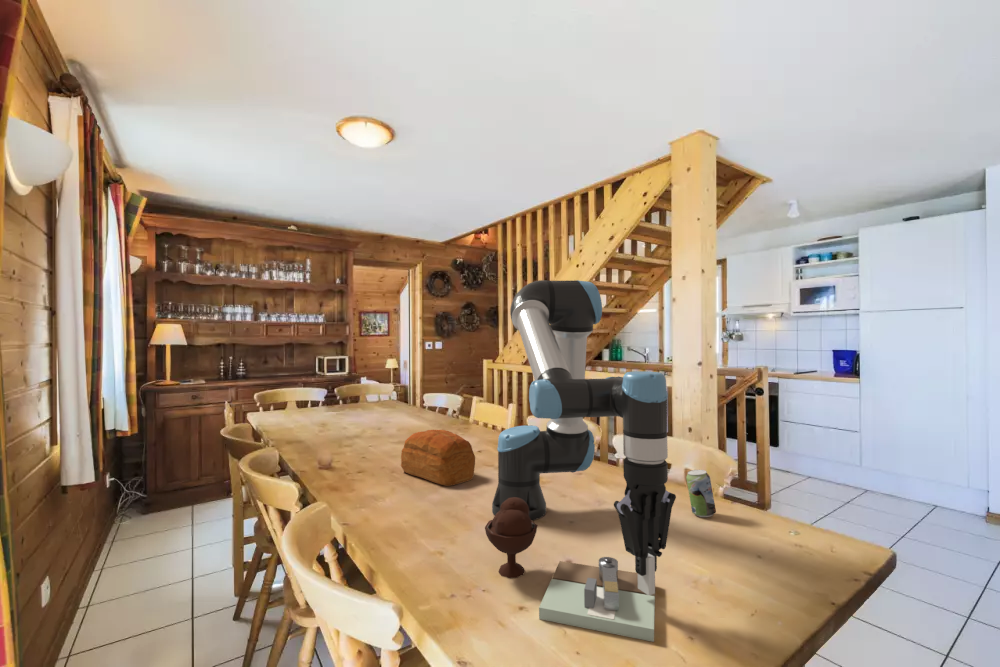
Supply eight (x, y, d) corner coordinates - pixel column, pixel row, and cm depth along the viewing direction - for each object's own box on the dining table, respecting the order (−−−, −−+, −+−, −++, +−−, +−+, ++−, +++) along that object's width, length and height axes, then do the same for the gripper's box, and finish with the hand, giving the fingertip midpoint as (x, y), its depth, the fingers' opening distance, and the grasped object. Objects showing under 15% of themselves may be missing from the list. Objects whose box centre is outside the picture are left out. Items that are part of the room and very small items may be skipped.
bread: (443, 489, 149) (443, 440, 150) (396, 472, 168) (396, 429, 168) (479, 477, 161) (479, 432, 161) (432, 463, 180) (431, 422, 180)
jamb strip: (552, 587, 90) (552, 575, 90) (559, 570, 97) (559, 559, 97) (654, 605, 84) (654, 593, 84) (655, 585, 91) (655, 574, 91)
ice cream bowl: (483, 560, 102) (483, 492, 102) (533, 557, 103) (533, 490, 103) (486, 586, 91) (485, 510, 91) (542, 583, 92) (541, 508, 92)
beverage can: (718, 520, 122) (718, 475, 122) (689, 518, 124) (688, 473, 124) (712, 511, 129) (712, 468, 129) (684, 509, 130) (684, 467, 130)
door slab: (539, 618, 80) (538, 589, 80) (551, 589, 90) (551, 562, 90) (653, 641, 74) (653, 609, 74) (654, 607, 84) (654, 578, 84)
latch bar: (598, 572, 91) (598, 554, 91) (617, 573, 91) (617, 555, 91) (600, 608, 79) (600, 587, 79) (622, 610, 79) (622, 589, 79)
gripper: (655, 449, 89) (656, 572, 89) (602, 458, 83) (603, 590, 83) (687, 458, 82) (689, 591, 82) (632, 468, 76) (633, 612, 76)
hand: (646, 590), depth 82 cm, fingers closed
